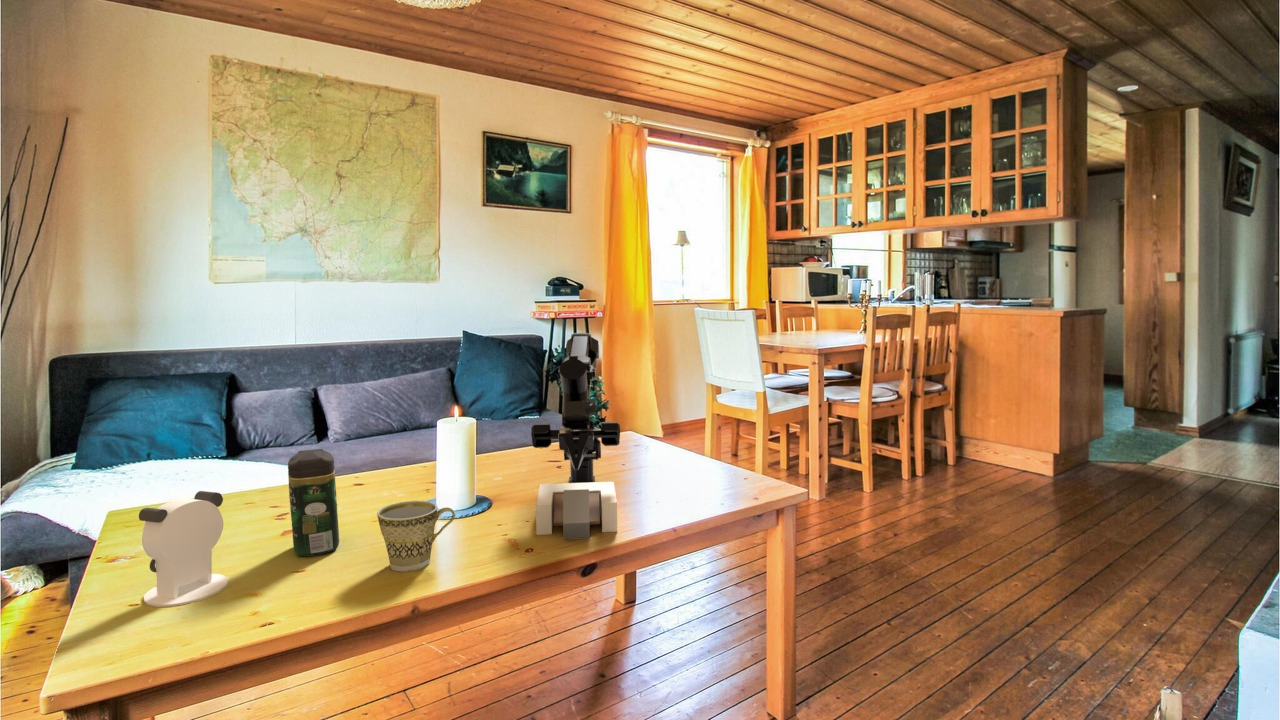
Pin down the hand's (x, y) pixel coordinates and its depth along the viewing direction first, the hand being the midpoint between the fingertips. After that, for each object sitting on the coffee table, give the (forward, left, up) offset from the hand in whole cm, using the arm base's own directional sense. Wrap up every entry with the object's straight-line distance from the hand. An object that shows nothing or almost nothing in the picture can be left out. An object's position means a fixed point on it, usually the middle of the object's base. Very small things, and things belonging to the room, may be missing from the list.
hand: (576, 469), depth 138 cm
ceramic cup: (+18, -28, -11) cm, 35 cm away
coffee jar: (+9, -49, -11) cm, 51 cm away
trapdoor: (+2, 0, -8) cm, 8 cm away
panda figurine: (+25, -63, -11) cm, 69 cm away
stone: (+8, 0, -7) cm, 10 cm away
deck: (-1, 0, -11) cm, 11 cm away
